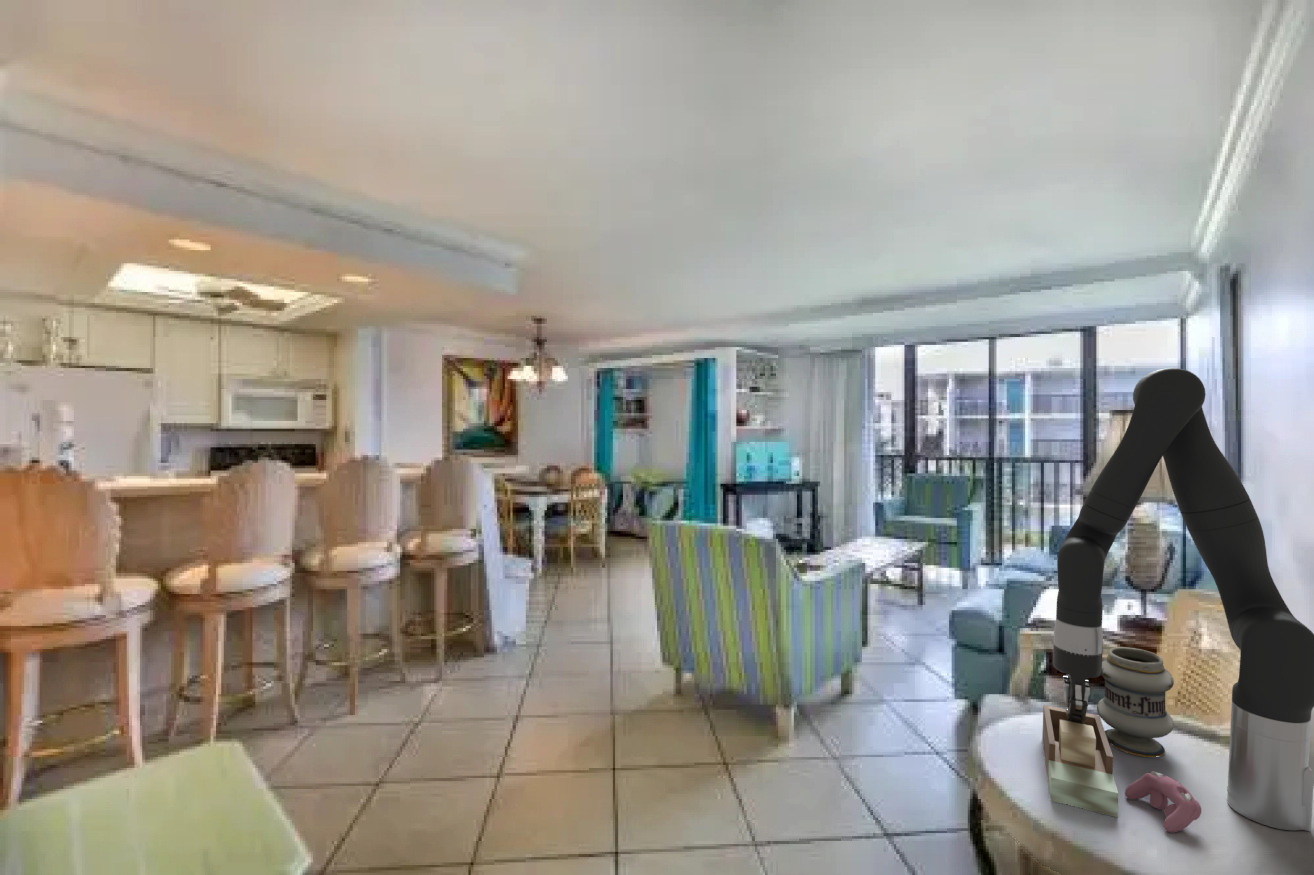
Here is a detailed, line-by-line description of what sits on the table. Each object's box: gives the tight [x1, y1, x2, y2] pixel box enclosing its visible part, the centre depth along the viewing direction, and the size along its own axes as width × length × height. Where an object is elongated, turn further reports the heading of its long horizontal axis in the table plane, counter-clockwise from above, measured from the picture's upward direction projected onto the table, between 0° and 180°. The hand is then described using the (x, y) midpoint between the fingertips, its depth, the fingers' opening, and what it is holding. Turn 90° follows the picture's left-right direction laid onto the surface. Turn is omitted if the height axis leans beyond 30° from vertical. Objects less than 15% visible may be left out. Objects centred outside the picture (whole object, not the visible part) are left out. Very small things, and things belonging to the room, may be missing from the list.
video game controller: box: [1124, 770, 1202, 833], centre depth 103 cm, size 10×5×7 cm, turn 179°
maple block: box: [1059, 720, 1096, 767], centre depth 113 cm, size 5×5×5 cm
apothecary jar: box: [1096, 646, 1175, 758], centre depth 124 cm, size 12×12×18 cm
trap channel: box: [1041, 704, 1119, 818], centre depth 114 cm, size 9×22×7 cm, turn 152°
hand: (1073, 737), depth 117 cm, fingers closed
